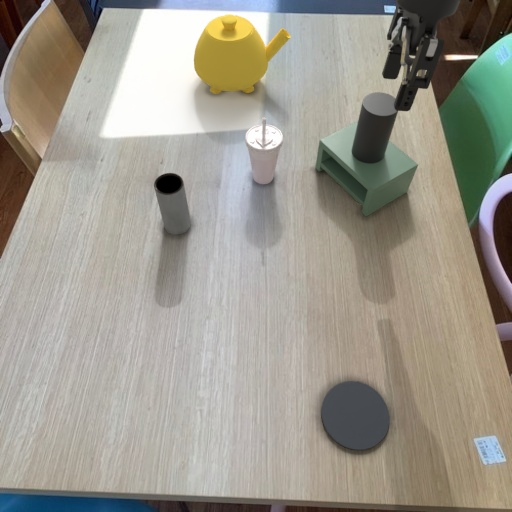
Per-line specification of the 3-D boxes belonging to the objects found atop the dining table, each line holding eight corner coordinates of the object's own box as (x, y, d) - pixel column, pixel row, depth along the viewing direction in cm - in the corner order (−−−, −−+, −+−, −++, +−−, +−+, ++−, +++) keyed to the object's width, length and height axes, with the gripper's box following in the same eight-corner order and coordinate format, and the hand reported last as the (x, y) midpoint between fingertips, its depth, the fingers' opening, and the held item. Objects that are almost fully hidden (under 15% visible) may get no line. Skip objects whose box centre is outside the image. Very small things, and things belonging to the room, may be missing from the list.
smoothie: (243, 187, 86) (241, 127, 74) (248, 162, 89) (247, 101, 78) (278, 191, 85) (282, 131, 74) (282, 165, 89) (286, 104, 77)
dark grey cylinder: (390, 150, 81) (406, 102, 73) (372, 168, 79) (386, 121, 71) (363, 135, 83) (375, 87, 75) (345, 153, 81) (355, 105, 73)
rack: (407, 192, 86) (418, 164, 80) (365, 216, 82) (374, 189, 77) (355, 146, 92) (362, 118, 86) (315, 168, 89) (319, 139, 83)
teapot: (285, 56, 108) (288, -5, 97) (290, 101, 99) (295, 39, 88) (196, 58, 107) (190, -3, 96) (194, 103, 99) (187, 42, 87)
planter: (173, 239, 80) (163, 199, 71) (159, 222, 82) (148, 180, 73) (196, 226, 81) (189, 185, 72) (182, 210, 83) (173, 168, 74)
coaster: (401, 411, 64) (402, 410, 64) (364, 465, 60) (365, 465, 60) (346, 369, 67) (346, 368, 67) (307, 418, 63) (307, 417, 63)
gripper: (490, -10, 50) (433, 124, 62) (453, -53, 59) (409, 70, 72) (421, -17, 49) (377, 119, 62) (394, -60, 59) (360, 66, 71)
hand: (394, 93), depth 67 cm, fingers open, 8 cm apart
